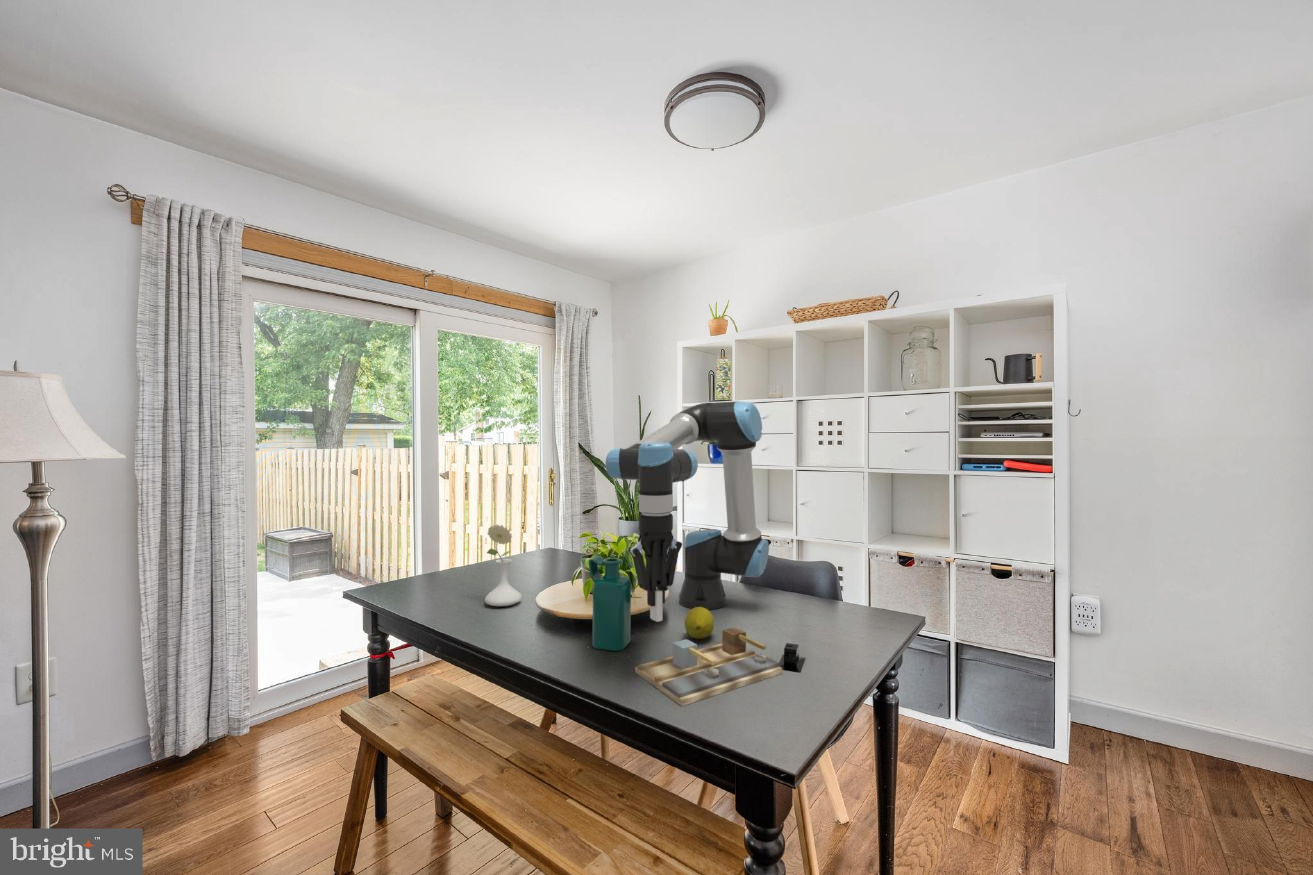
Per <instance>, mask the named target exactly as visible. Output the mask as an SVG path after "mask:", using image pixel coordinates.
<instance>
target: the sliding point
mask: <svg viewBox="0 0 1313 875" xmlns="http://www.w3.org/2000/svg"><path fill="white" fill-rule="evenodd" d="M697 650H698V644H697V643H695V642H693V641H691V640H689V639H682V640H679V641H674V642H672V656H673V664H674V665H676V666H677V667H679V668H681V669H685V668H689V667H692V666H696V665H697V657H699V658H700V659H702V660H704V661H706V662H708V663H709V664H711V665H715V660H713V659H712V658H710V657H708V656H706V655H704V654H702V653H701V652H699V651H697Z"/></svg>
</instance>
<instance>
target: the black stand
mask: <svg viewBox="0 0 1313 875" xmlns="http://www.w3.org/2000/svg"><path fill="white" fill-rule="evenodd" d="M799 646H800V645H799V644H795V643H790V642H786V643H785V646H784V648H783V654H782V655H781V656H780V659H779V662H778V663H779V667H781V668H782V671H785V672H791V673H792V672H793V673H797V674H801V673H802V670H803V667H804V664H805V662H806V659H807V658H806V657H805V656H804V657H803V656H800V649H799V648H800V647H799Z"/></svg>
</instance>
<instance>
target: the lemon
mask: <svg viewBox="0 0 1313 875" xmlns="http://www.w3.org/2000/svg"><path fill="white" fill-rule="evenodd" d="M683 623H684V628H685V630H686V633H687V635H688V636H690V637H691V638H693V639H696V640H704V639H706V638H708V637H709V636H711V634H712V633H713V630H714V627H715V626H714V625H715V624H714V623H715V618H714V617H713V614H712V613H711V611H710V610H709V609H708V610H707V609H705V608H703V607H695V608H690V610H689V611H688V612H687V614H686V615H685V617H684V622H683Z"/></svg>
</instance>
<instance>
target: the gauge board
mask: <svg viewBox="0 0 1313 875" xmlns="http://www.w3.org/2000/svg"><path fill="white" fill-rule="evenodd" d="M721 634H722V636H721V637H722V639H721V640H722V643H718V644H714V645H710V646H707V647H703V648H699V649H698V648H697V651H699V652H701V653H702V654H704V655H706V656H708V657H710V658H712V659H713V660H715V665H711V664H709V663H708V662H706V661H704V660H702V659H700V658H699V657H697V665H696V666H692V667H689V668H685V669H681V668H679V667H677V666H676V665H674V664H673V655H672V656H668V657H664V658H661V659H658V660H654V661H649V662H646V663H642V664H638V665H637V666H636V667H634V668H635V669H634V674H636V675H638V676H639V677H641V678H642V679H643V680H645V681H646V682H647V683H649V684H650V685H651V686H653V687H654V688H656V689H657V690H659V691H660V692H661V693H663V694H664V695H666V696H667V697H668V698H670V699H671V700H673V701H674V702H676V704H678V705H680V706H681V707H684V706H686V705H689V704H693V703H696V702H698V701H702V700H706V699H709V698H711V697H715V696H718V695H720V694H724V693H727V692H730V691H732V690H736V689H738V688H741V687H744V686H747V685H751V684H754V683H757V682H761V681H763V680H766V679H770V678H772V677H773V678H774V677H775V676H778V675H781V674H783V670H782V668H781V667H779V662H778V661H776V660H774V659H772V658H769V657H768V656H765V655H763V654H762V653H760V654H755V652H756V651H755V650H753V649H750V650H747V648H746V647H747V644H749V645H751V646H754V647H756V648H758V649H760V650H763V651H765V650H767V646H766V645H765V644H763V643H761V642H758V641H757V640H755V639H752V638H749V637H748V636H747V631H744V630H742V629H740V628H737V627H736V626H733V627H730V628H725V629H722V633H721Z"/></svg>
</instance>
